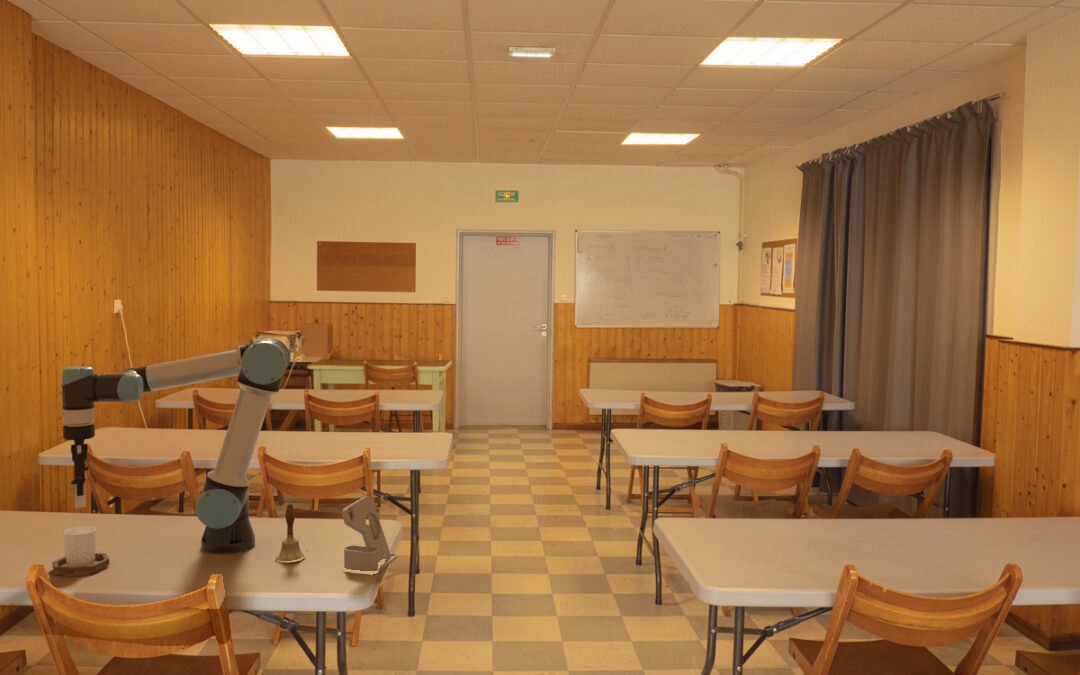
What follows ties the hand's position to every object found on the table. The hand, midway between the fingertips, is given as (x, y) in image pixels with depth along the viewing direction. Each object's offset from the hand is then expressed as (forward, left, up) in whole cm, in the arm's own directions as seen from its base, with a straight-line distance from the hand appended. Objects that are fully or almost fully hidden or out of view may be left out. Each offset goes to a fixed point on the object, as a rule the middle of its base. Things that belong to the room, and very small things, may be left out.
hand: (80, 501), depth 223 cm
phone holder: (-76, -19, -19) cm, 80 cm away
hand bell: (-52, -18, -19) cm, 58 cm away
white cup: (0, 0, -18) cm, 18 cm away
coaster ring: (0, 0, -19) cm, 19 cm away
